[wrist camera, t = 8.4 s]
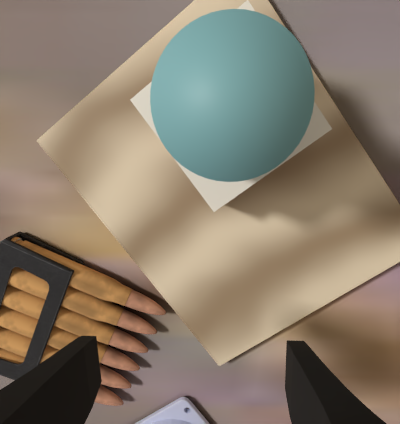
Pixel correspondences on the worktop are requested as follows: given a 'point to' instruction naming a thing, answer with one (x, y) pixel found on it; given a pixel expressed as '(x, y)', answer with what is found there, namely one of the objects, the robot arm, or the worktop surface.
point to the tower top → (226, 191)
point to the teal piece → (232, 95)
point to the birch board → (228, 210)
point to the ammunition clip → (65, 312)
